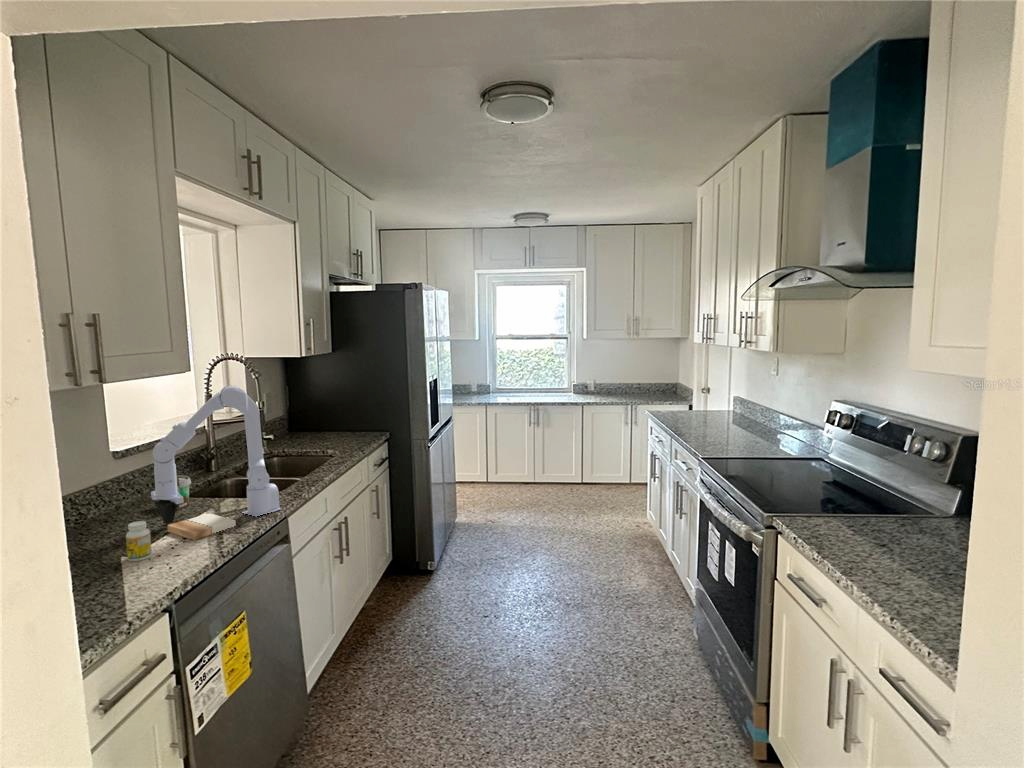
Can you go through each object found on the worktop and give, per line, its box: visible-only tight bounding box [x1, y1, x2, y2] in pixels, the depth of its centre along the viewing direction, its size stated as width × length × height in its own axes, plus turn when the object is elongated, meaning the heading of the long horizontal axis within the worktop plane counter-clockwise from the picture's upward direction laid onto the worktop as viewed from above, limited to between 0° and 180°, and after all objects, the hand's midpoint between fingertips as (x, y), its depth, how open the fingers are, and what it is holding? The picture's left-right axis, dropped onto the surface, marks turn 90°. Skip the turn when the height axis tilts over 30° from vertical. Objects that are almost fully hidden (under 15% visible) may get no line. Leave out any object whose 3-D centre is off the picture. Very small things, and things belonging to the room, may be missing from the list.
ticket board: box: [184, 513, 237, 535], centre depth 166 cm, size 8×14×2 cm, turn 61°
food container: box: [176, 474, 192, 510], centre depth 187 cm, size 12×6×10 cm, turn 59°
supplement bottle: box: [125, 520, 153, 562], centre depth 142 cm, size 5×5×10 cm
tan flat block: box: [167, 519, 212, 541], centre depth 160 cm, size 5×14×2 cm, turn 61°
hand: (168, 522), depth 165 cm, fingers closed
